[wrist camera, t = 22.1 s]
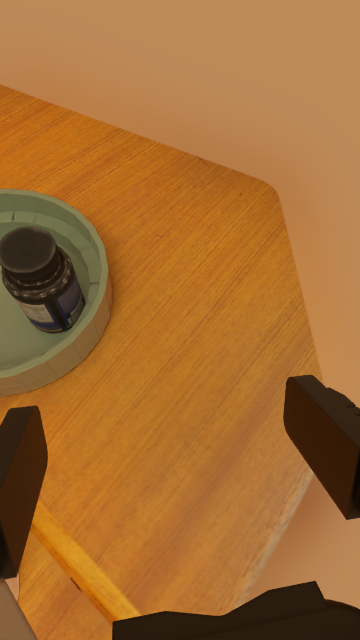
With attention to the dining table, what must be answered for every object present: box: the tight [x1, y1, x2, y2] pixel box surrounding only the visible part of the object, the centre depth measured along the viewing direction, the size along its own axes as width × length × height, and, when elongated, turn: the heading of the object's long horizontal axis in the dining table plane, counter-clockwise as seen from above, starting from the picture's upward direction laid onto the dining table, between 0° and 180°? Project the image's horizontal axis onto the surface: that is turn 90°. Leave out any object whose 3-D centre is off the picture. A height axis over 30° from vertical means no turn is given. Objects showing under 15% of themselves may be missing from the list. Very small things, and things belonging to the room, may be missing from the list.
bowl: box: [0, 189, 113, 397], centre depth 36 cm, size 21×21×6 cm
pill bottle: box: [0, 226, 85, 334], centre depth 33 cm, size 6×6×11 cm
